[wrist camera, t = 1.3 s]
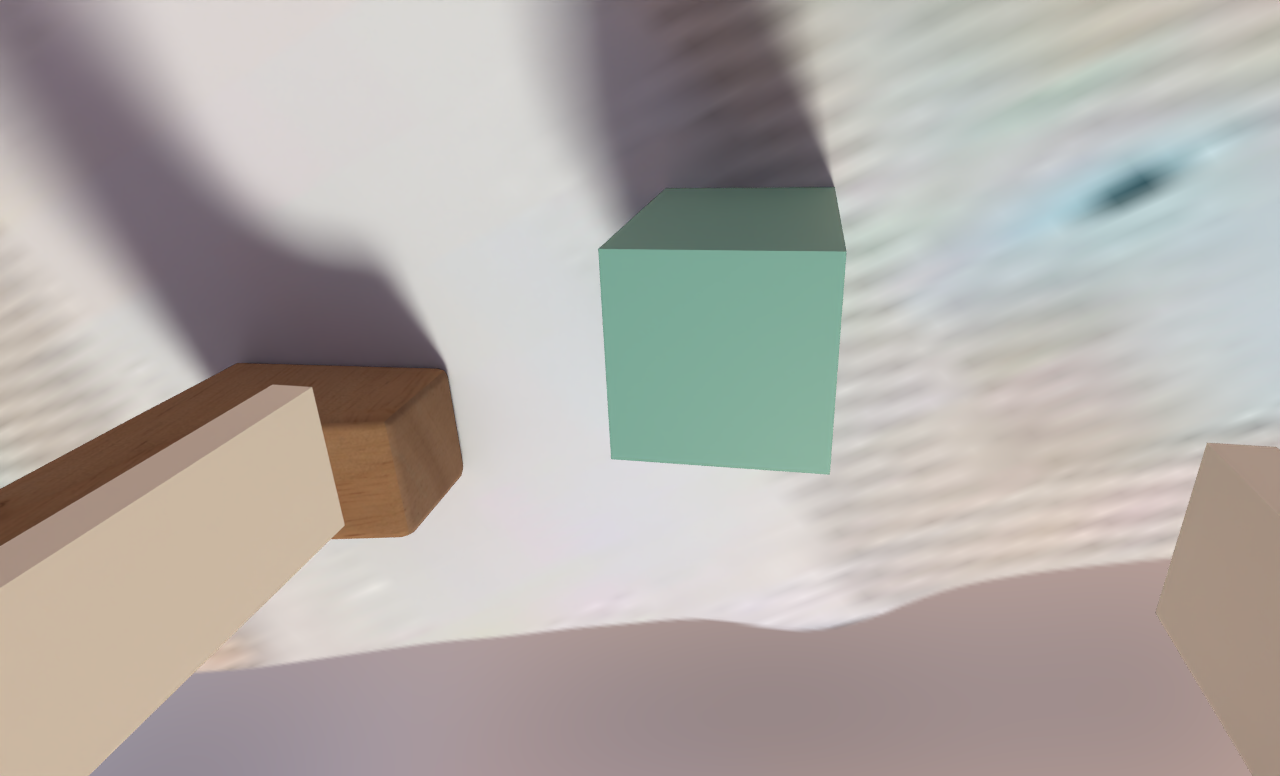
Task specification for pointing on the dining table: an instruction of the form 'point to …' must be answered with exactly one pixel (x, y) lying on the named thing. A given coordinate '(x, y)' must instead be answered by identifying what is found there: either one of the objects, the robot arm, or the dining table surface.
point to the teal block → (725, 328)
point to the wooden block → (352, 427)
